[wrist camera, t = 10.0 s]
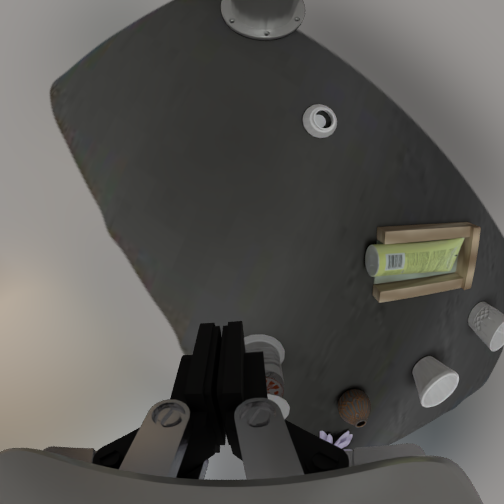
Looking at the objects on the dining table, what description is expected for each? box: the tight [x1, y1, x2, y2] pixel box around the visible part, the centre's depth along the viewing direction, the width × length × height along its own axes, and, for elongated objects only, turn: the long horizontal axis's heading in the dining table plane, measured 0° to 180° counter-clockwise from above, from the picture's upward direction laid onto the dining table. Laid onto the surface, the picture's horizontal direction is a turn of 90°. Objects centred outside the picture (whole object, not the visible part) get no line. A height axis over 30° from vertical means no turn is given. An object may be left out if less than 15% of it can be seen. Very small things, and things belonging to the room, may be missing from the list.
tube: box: [365, 238, 465, 277], centre depth 42 cm, size 6×5×20 cm
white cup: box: [468, 302, 504, 351], centre depth 45 cm, size 8×8×10 cm
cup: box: [412, 356, 459, 407], centre depth 49 cm, size 10×10×9 cm
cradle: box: [372, 222, 481, 303], centre depth 43 cm, size 12×21×4 cm, turn 94°
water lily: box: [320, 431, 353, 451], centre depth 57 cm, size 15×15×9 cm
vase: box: [338, 389, 371, 428], centre depth 50 cm, size 7×7×9 cm
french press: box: [244, 334, 290, 419], centre depth 38 cm, size 10×12×25 cm
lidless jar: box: [303, 104, 337, 138], centre depth 37 cm, size 5×3×5 cm
